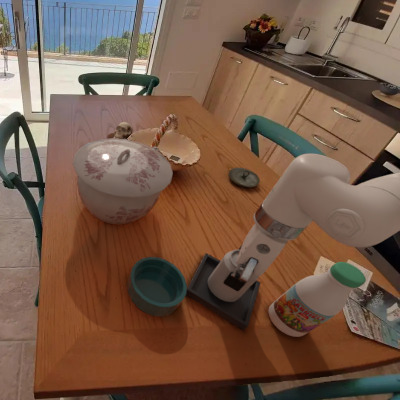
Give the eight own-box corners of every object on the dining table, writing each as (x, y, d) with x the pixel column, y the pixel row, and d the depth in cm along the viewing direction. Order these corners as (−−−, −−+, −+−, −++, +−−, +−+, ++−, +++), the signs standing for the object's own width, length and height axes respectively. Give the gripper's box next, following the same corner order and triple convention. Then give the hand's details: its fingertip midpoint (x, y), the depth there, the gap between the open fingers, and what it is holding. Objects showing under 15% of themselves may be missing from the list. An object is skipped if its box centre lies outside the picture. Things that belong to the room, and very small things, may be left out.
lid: (250, 178, 103) (254, 165, 101) (263, 189, 94) (269, 176, 92) (222, 176, 104) (226, 164, 101) (233, 187, 95) (237, 174, 93)
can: (240, 308, 62) (267, 281, 53) (206, 297, 63) (228, 269, 55) (237, 280, 67) (262, 252, 59) (206, 271, 68) (226, 242, 60)
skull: (127, 149, 109) (115, 126, 106) (110, 155, 117) (99, 134, 115) (142, 138, 115) (132, 116, 113) (125, 145, 124) (115, 124, 121)
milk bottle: (268, 297, 65) (323, 247, 51) (304, 314, 62) (373, 266, 48) (266, 325, 60) (327, 277, 46) (305, 345, 57) (383, 300, 43)
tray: (256, 286, 67) (260, 282, 65) (243, 330, 59) (247, 326, 57) (202, 257, 72) (205, 252, 71) (184, 293, 64) (187, 289, 63)
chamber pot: (70, 240, 74) (74, 181, 60) (70, 178, 94) (72, 124, 80) (169, 241, 76) (195, 185, 62) (148, 180, 96) (164, 127, 82)
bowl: (187, 287, 65) (194, 276, 62) (166, 329, 58) (173, 319, 54) (142, 259, 71) (146, 248, 67) (117, 294, 63) (120, 283, 60)
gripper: (297, 262, 41) (244, 312, 53) (308, 203, 52) (261, 256, 64) (246, 237, 45) (207, 290, 56) (266, 187, 55) (229, 240, 67)
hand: (236, 272), depth 60 cm, fingers open, 8 cm apart
